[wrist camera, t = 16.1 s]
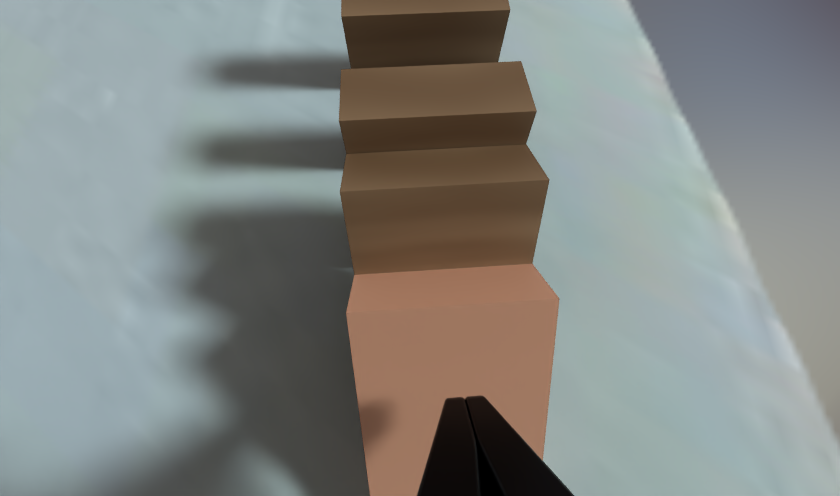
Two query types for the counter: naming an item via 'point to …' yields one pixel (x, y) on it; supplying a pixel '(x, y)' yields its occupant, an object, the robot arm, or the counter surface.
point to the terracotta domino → (446, 359)
